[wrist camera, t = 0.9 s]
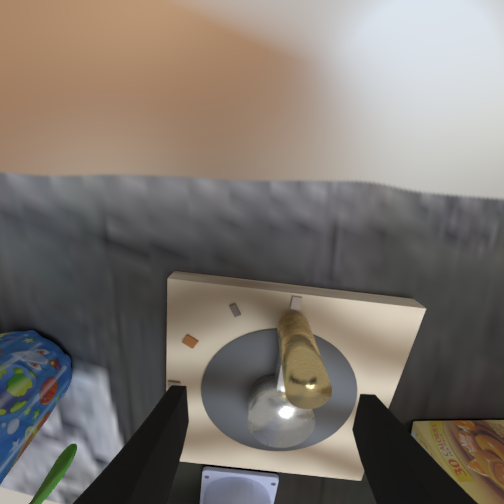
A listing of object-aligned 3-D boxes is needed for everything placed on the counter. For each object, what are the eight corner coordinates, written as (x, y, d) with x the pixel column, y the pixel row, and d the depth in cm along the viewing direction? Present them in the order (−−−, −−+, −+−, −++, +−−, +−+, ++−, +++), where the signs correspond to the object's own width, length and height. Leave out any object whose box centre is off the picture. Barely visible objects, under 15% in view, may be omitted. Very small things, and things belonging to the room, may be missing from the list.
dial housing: (354, 462, 24) (361, 483, 22) (170, 442, 24) (164, 462, 22) (413, 298, 19) (428, 310, 17) (174, 270, 18) (166, 279, 17)
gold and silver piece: (302, 422, 20) (319, 512, 15) (245, 416, 20) (241, 503, 15) (329, 315, 17) (362, 378, 12) (261, 307, 17) (263, 367, 12)
